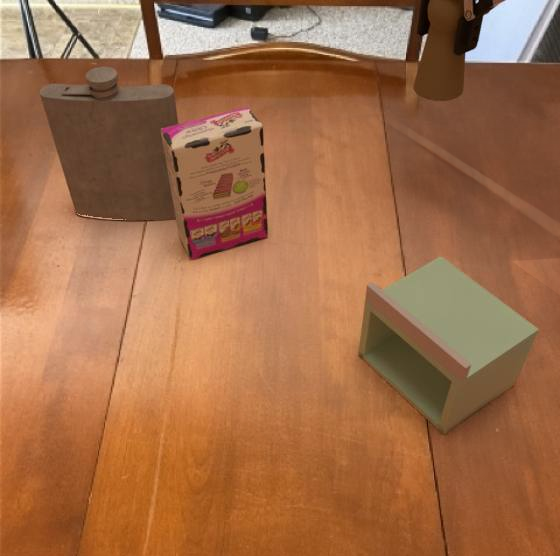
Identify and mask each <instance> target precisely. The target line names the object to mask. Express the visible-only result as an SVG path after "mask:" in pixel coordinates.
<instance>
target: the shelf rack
mask: <svg viewBox="0 0 560 556" xmlns="http://www.w3.org/2000/svg"><path fill="white" fill-rule="evenodd" d="M364 298H365V299H364V306H363V315H362V322H361V329H360V337H359V345H358V346H359V347H358V353H357V356H359V357H360V358H361V359H362V360H363V361H364V363H366V364H367V365H368V366H369V367H370V368H371V369H372V370H373V371H374V372H376V373H377V374H378V375H379V376H380V377H381V378H382V380H384V381H385V382H386V383H387V384H388V385H389V386H391V387H392V388H393V389H394V390H395V391H396V392H397V393H398V394H399V395H400V396H401V397H403V399H405V401H406V402H408V403H409V404H410V405H411V406H412V407H413V408H414V409H415V410H416V411H418V412H419V414H421V416H422V417H424V418H425V419H426V420H427V421H428V422H429V423H430V424H431V425H432V426H434V427H435V428H436V430H438V431H439V432H440V433H442V435H443V436H445V435H446V434H448V433H449V432H451V431H452V430H453V429H455V428H456V427H458V426H459V425H461V424H462V423H463V422H464V421H466V420H467V419H469V418H470V417H472V416H473V415H475V414H476V413H477V412H479V411H481V410H482V409H483V408H484V407H486V406H487V405H489V404H491V402H493V401H494V400H496V399H497V398H498V397H500V396H502V395H503V394H504V393H506V392H507V391H508V390H510V389H512V388H513V387H515V386H516V384H517V382H518V379H519V377H520V374H521V372H522V370H523V368H524V366H525V363H526V361H527V358H528V356H529V353H530V351H531V349H532V346H533V345H534V342H535V339H536V337H537V335H538V333H539V330H540V328H538V327H537V326H536V325H534V324H533V323H531V322H530V321H529V320H528V319H526V318H525V317H524V316H522V315H521V314H519V312H516V310H514V309H513V308H511V307H510V306H508V305H507V304H506V303H504V302H503V301H502V300H501V299H499V298H498V297H497V296H495V295H494V294H493V293H491V292H490V291H489V290H487V289H486V288H485V287H484V286H482V285H480V283H478V282H477V281H475V280H474V279H472V278H471V277H470V276H469V275H467V273H464V272H463V271H462V270H461V269H459V268H458V267H457V266H455V265H454V264H452V263H451V262H450V261H449V260H447V259H446V258H444V257H443V256H441V255H440V256H439V257H437V258H434V259H433V260H432V261H430V262H428V263H426V264H424V265H423V266H421V267H419V268H418V269H416V270H414V271H412V272H410V273H409V274H407V275H405V276H403V277H402V278H400V279H398V280H397V281H394V282H393V283H391V284H390V285H387V286H386V287H384V288H381V287H380V286H378V285H377V284H376V283H375V282H373V281H371V282H370V283H368V284H367V285H366V290H365V297H364Z"/></svg>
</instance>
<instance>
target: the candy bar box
mask: <svg viewBox="0 0 560 556" xmlns="http://www.w3.org/2000/svg"><path fill="white" fill-rule="evenodd" d="M160 130H161V136H162V142H163V147H164V152H165V158H166V164H167V170H168V176H169V181H170V187H171V193H172V199H173V204H174V210H175V215H176V219H175V220H176V221H175V222H176V225H177V232H178V237H179V240H180V242H181V244H182V246H183V248H184V249H185V251H186V254H187V255H188V257H189V259H190V260H196V259H199V258H202V257H206V256H209V255H212V254H215V253H219V252H222V251H225V250H228V249H232V248H235V247H238V246H242V245H244V244H248V243H251V242H254V241H257V240H260V239H264V238H268V237H269V228H268V226H269V225H268V205H267V203H268V202H267V187H266V185H267V184H266V161H265V144H264V142H265V140H264V125H263V124H262V122H261V121H260V120H259V119H258V118H257V117H256V116H255V114H254V113H253V112H252V109H250V107H249V106H244V107H239V108H236V109H232V110H228V111H225V112H221V113H217V114H212V115H208V116H205V117H201V118H197V119H194V120H190V121H186V122H182V123H178V125H174V126H170V127H166V128H162V129H160Z"/></svg>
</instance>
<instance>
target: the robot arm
mask: <svg viewBox="0 0 560 556" xmlns="http://www.w3.org/2000/svg"><path fill="white" fill-rule="evenodd" d="M505 1H506V0H478V1H476V0H464V17H462V18H460V19H459V21H458V27H457V33H456V38H455V44H454V50H453V52H454V54H456V55H458V56H459V55H461V54H464V53H465V54H467V53H469V52H471V51H473V50H475V49H477V47H478V44H479V41H480V35H481V30H482V25H483V20H484V16H485V15H488V14H489V13H490V12H491V11H492V10H493V9H495V8H496V7H498V6H499V5H500V4H502V3H504V2H505ZM429 2H430V0H420V5H419V6H420V7H419V13H418V22H417V29H416V35H418V36H419V37H423V36H425V35H426V36H427V35H428V31H429V27H430V24H431V23H430V21H429V19H428V4H429Z"/></svg>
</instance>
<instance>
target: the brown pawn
mask: <svg viewBox="0 0 560 556" xmlns="http://www.w3.org/2000/svg"><path fill="white" fill-rule="evenodd" d="M462 17H464V0H430V2H429V4H428V19H429V21H430V23H431V24H430V27H429V31H428V34H426V39H425V43H424V46H423V50H422V54H421V57H420V61H419V64H418V68H417V71H416V75H415V78H414V82H413V91H414V92H415V93H416V95H418V96H419V97H420V98H423V99H425V100H429V101H434V102H446V101H447V102H448V101H452V100H456V99H457V98H459V97H461V96H462V95H463V93H464V85H465V69H466V53H464V54H461V55H459V56H458V55H456V54H454V52H453V50H454V44H455V38H456V33H457V27H458V21H459V19H460V18H462Z"/></svg>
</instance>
